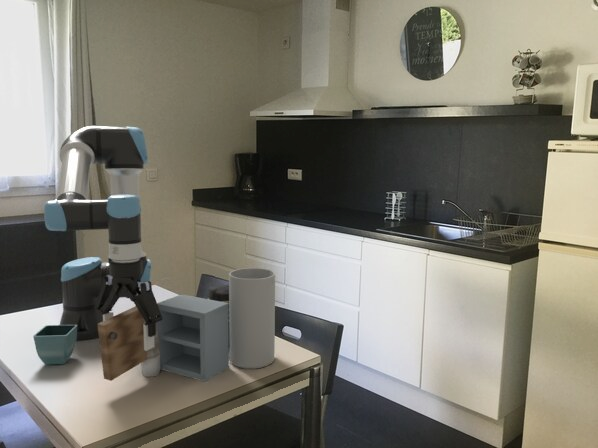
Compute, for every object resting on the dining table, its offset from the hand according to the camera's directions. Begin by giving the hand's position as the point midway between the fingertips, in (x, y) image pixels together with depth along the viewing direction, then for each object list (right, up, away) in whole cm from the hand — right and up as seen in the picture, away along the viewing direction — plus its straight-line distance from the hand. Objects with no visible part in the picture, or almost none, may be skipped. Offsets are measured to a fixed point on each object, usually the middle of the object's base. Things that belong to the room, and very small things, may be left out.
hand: (128, 343), depth 129 cm
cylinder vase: (+29, -9, +17) cm, 35 cm away
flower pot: (-24, -8, +15) cm, 30 cm away
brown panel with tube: (0, -6, +2) cm, 6 cm away
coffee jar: (+20, -7, +27) cm, 35 cm away
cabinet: (+12, -9, +10) cm, 18 cm away
